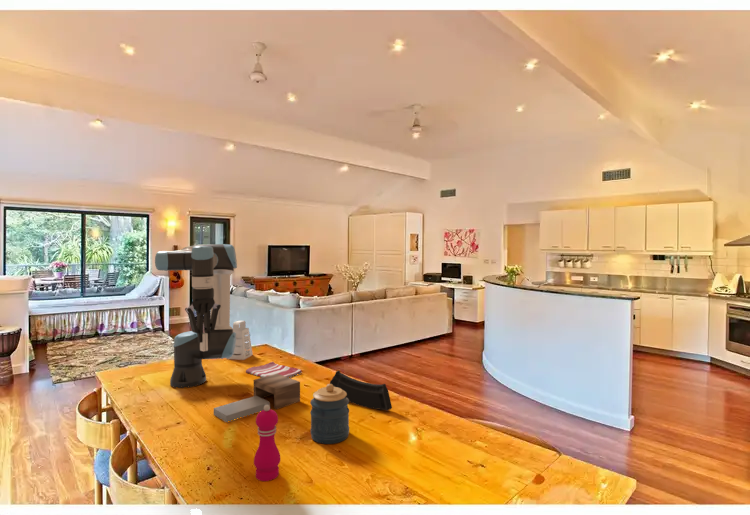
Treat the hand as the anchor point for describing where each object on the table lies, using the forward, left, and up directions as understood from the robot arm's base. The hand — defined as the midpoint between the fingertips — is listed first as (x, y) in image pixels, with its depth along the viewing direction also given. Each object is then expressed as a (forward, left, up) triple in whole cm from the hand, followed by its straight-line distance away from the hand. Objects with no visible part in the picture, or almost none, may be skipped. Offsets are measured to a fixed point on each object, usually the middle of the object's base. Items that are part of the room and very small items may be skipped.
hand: (203, 350), depth 159 cm
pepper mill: (+53, -8, -25) cm, 59 cm away
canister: (+48, +20, -25) cm, 58 cm away
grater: (-62, +51, -25) cm, 84 cm away
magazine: (+35, +47, -25) cm, 64 cm away
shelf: (+8, +26, -24) cm, 37 cm away
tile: (+8, +11, -25) cm, 28 cm away
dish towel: (-23, +47, -25) cm, 58 cm away
